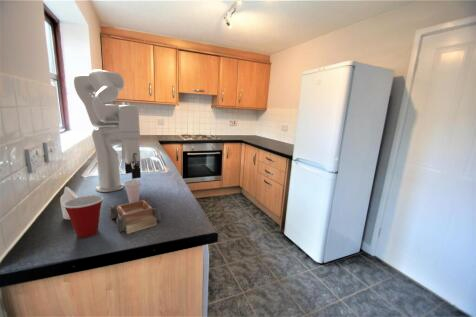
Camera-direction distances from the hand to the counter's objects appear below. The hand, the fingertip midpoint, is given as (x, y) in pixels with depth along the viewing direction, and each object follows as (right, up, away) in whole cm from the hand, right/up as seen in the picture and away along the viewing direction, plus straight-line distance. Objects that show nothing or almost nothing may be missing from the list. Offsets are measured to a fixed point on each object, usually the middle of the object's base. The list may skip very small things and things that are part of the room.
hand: (133, 175), depth 93 cm
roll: (-18, -15, -10) cm, 26 cm away
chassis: (+6, -16, -10) cm, 20 cm away
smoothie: (-1, -13, +3) cm, 13 cm away
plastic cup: (-5, -18, -21) cm, 28 cm away
